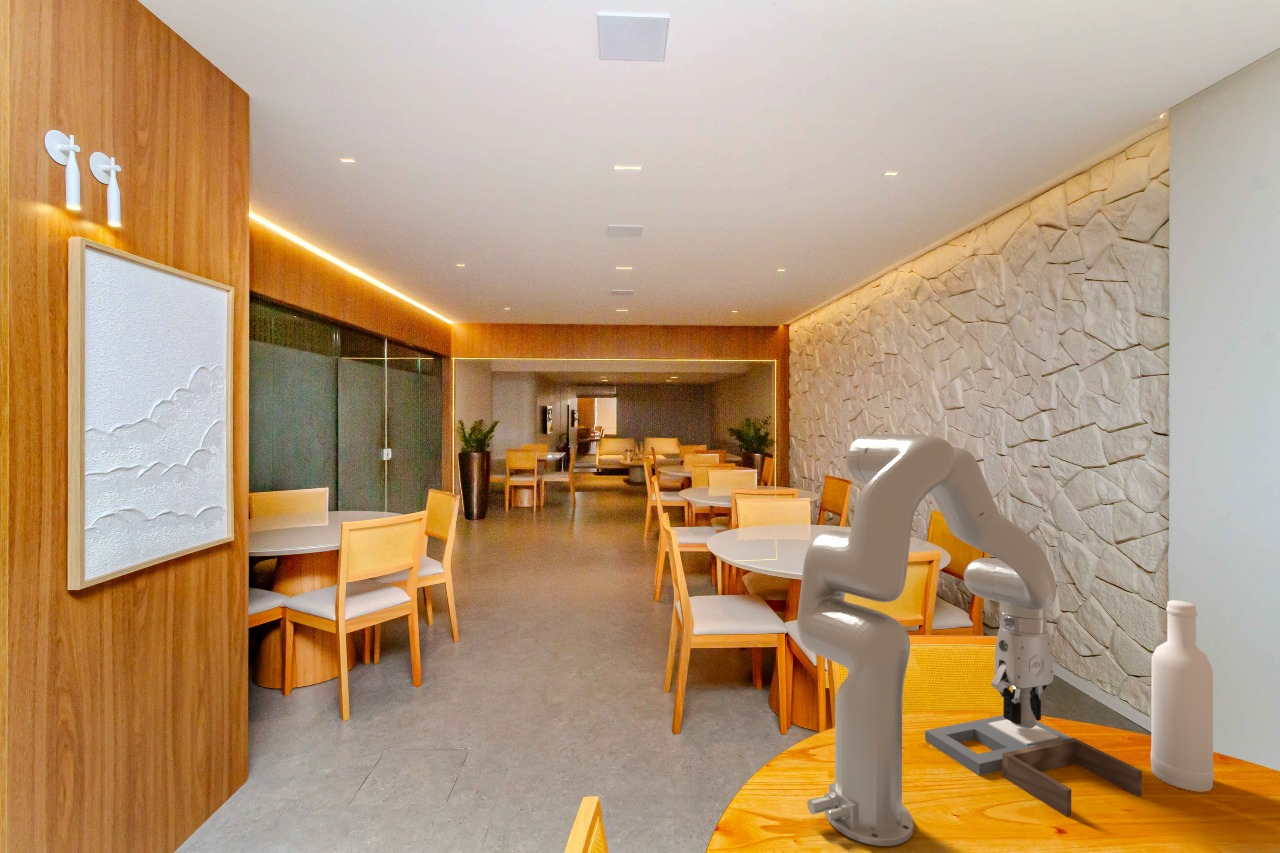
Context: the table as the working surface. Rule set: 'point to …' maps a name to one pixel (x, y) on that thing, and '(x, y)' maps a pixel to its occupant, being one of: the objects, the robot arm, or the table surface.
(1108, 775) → the walnut pen
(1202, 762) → the bottle
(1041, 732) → the hole board
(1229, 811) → the table surface
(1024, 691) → the rook chess piece
